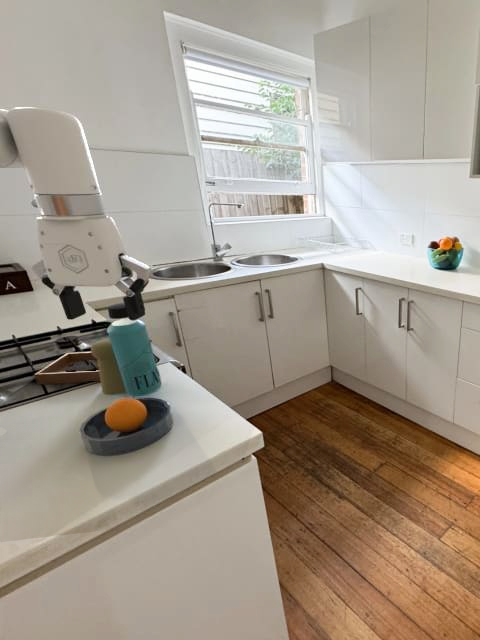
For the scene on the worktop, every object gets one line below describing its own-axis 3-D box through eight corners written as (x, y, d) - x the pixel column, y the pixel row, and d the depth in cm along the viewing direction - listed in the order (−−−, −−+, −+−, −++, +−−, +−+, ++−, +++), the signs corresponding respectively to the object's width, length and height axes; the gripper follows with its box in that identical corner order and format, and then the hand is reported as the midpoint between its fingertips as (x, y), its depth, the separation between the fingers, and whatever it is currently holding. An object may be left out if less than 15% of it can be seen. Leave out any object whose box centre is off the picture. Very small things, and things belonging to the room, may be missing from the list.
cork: (142, 384, 84) (129, 339, 80) (113, 397, 79) (96, 349, 75) (125, 378, 86) (111, 333, 82) (95, 390, 81) (79, 343, 77)
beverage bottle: (138, 406, 76) (108, 312, 68) (121, 397, 79) (91, 306, 71) (171, 392, 82) (147, 303, 74) (153, 384, 85) (129, 297, 77)
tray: (37, 384, 83) (33, 374, 82) (70, 361, 93) (67, 352, 92) (105, 381, 85) (102, 371, 84) (130, 359, 95) (127, 350, 94)
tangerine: (103, 440, 66) (92, 411, 63) (121, 420, 71) (111, 393, 69) (141, 437, 67) (132, 409, 64) (156, 418, 72) (148, 391, 70)
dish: (67, 459, 62) (60, 444, 61) (111, 413, 74) (106, 400, 73) (155, 451, 64) (151, 437, 63) (184, 408, 76) (181, 395, 75)
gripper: (-15, 207, 52) (33, 324, 59) (115, 211, 52) (147, 326, 59) (34, 204, 59) (71, 309, 66) (149, 206, 59) (173, 310, 66)
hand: (107, 317), depth 62 cm, fingers open, 9 cm apart
